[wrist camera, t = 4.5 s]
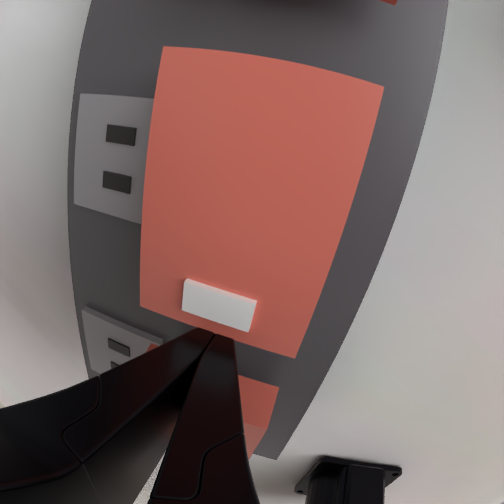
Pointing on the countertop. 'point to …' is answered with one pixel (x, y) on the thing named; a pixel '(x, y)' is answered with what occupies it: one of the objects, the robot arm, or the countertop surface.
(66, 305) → the countertop surface
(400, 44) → the power strip
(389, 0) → the rocker
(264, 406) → the red rectangular block
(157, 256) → the plate
